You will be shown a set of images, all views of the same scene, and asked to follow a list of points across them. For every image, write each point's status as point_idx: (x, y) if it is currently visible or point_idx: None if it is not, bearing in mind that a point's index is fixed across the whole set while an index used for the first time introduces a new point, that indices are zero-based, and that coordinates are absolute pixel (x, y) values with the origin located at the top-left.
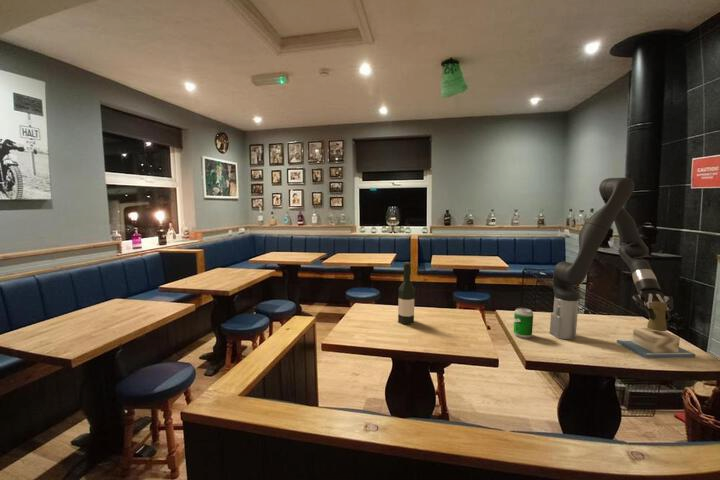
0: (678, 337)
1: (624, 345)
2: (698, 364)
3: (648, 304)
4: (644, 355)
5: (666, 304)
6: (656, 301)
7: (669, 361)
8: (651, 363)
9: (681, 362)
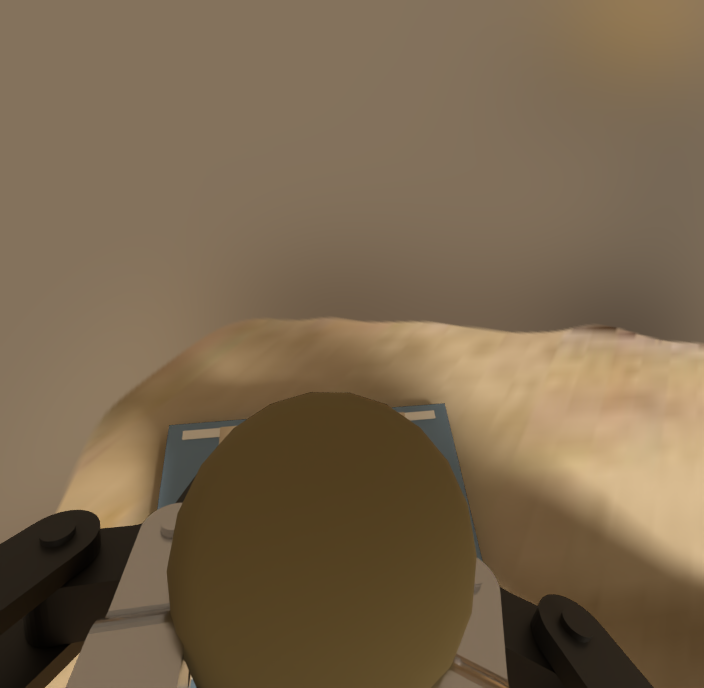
0: (229, 428)
1: (476, 553)
2: (243, 358)
3: (489, 653)
4: (443, 411)
5: (243, 430)
6: (369, 607)
7: (351, 380)
8: (443, 359)
9: (304, 373)
